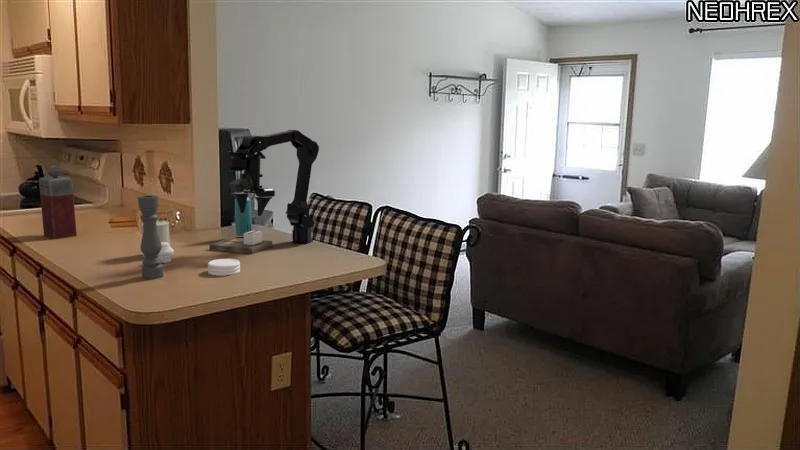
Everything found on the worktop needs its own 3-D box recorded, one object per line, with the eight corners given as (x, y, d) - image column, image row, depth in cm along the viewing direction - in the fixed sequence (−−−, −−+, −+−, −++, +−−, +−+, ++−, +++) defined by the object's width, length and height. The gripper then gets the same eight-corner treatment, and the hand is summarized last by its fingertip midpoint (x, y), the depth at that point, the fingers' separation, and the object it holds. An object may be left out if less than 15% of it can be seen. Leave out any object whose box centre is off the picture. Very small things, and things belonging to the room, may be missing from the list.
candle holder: (145, 274, 204) (140, 195, 199) (165, 273, 204) (161, 195, 200) (139, 279, 198) (134, 198, 193) (160, 279, 198) (155, 198, 194)
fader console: (272, 246, 246) (272, 240, 245) (252, 253, 232) (252, 248, 232) (231, 242, 251) (231, 237, 251) (209, 249, 238) (209, 244, 238)
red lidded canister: (63, 232, 266) (57, 164, 261) (77, 235, 260) (71, 166, 254) (40, 235, 259) (34, 165, 254) (54, 239, 253) (47, 167, 248)
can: (176, 253, 232) (174, 220, 230) (159, 259, 223) (157, 224, 221) (155, 251, 235) (153, 218, 233) (137, 256, 226) (135, 223, 224)
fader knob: (262, 241, 242) (261, 231, 241) (253, 245, 236) (253, 234, 236) (252, 240, 243) (252, 230, 243) (243, 244, 238) (243, 233, 237)
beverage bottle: (248, 240, 256) (246, 189, 252) (232, 239, 257) (230, 189, 253) (255, 236, 262) (253, 187, 258) (239, 236, 263) (238, 187, 260)
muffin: (156, 264, 216) (155, 244, 214) (154, 260, 221) (152, 240, 220) (176, 262, 218) (175, 242, 217) (173, 259, 224) (172, 239, 222)
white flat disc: (210, 277, 201) (209, 266, 201) (206, 270, 210) (205, 259, 210) (242, 275, 205) (242, 264, 205) (237, 267, 214) (237, 257, 214)
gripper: (216, 169, 231) (216, 212, 233) (252, 173, 220) (251, 219, 222) (241, 169, 240) (240, 211, 242) (276, 173, 229) (275, 216, 231)
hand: (250, 214), depth 234 cm, fingers open, 9 cm apart
